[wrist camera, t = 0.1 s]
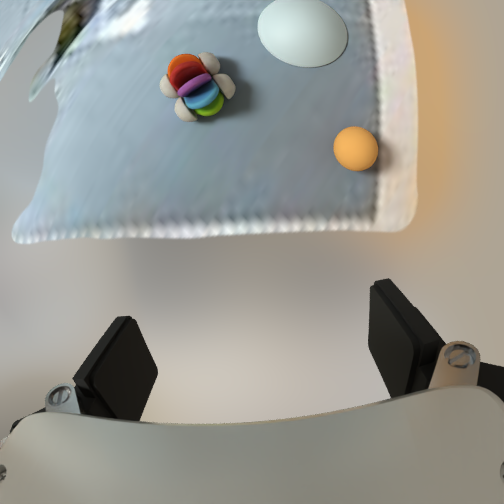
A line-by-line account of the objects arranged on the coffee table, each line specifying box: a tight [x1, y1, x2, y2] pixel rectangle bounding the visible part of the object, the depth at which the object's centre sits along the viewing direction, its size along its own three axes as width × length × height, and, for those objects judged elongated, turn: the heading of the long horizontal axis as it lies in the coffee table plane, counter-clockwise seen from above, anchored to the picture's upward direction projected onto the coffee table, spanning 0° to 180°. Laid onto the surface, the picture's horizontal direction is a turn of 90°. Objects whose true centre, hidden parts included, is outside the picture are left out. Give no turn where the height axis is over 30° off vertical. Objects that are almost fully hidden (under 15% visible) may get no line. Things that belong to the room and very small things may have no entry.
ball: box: [334, 127, 378, 171], centre depth 34 cm, size 6×6×6 cm
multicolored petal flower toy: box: [160, 52, 236, 122], centre depth 31 cm, size 8×10×7 cm
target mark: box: [258, 0, 347, 67], centre depth 31 cm, size 13×13×1 cm
